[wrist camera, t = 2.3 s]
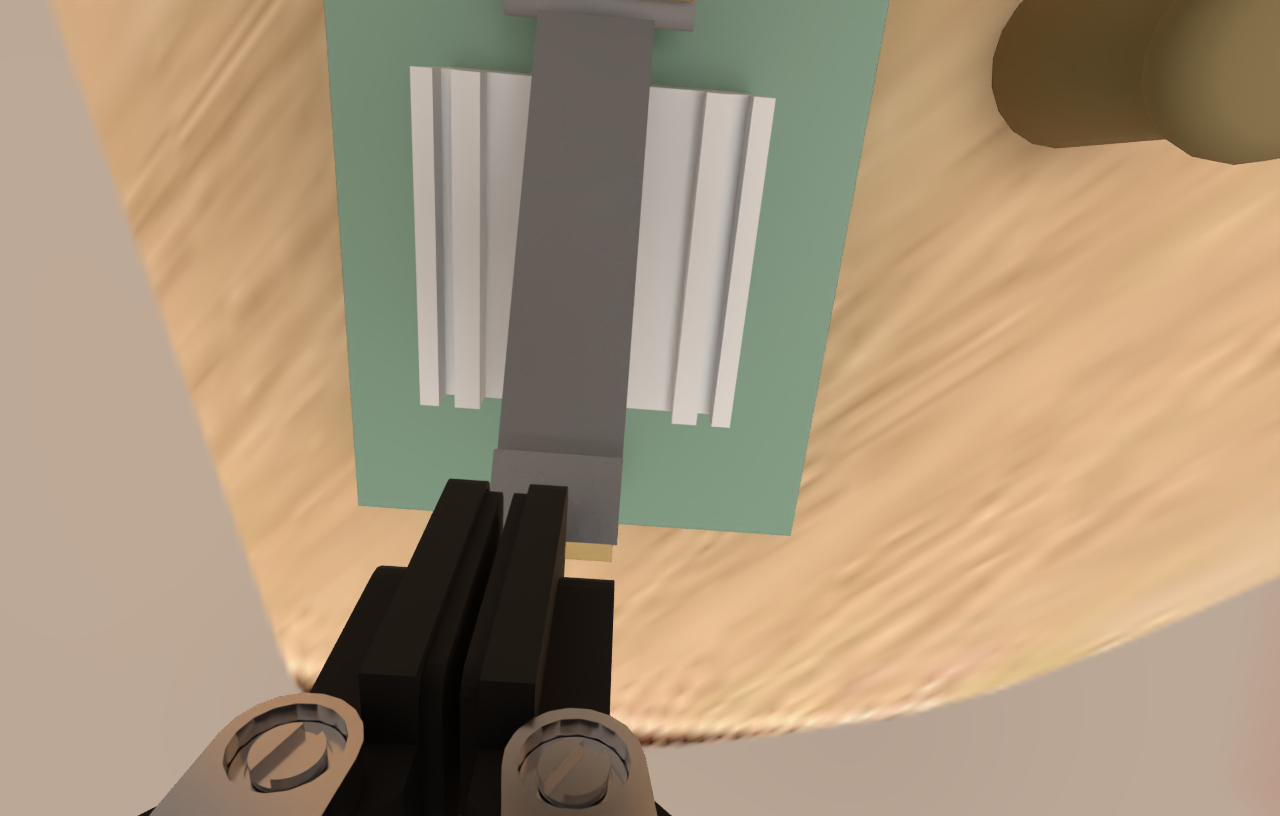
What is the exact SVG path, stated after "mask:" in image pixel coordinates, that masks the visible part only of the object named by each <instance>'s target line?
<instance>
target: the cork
mask: <svg viewBox="0 0 1280 816" xmlns="http://www.w3.org/2000/svg"><path fill="white" fill-rule="evenodd" d="M992 88H993V92H994V96H995V99H996V103H997V106H998V110H999V112H1000V114H1001V115H1002V116H1003V118H1004V119H1005V121H1006V122H1007V123H1008V125H1009V126H1010V128H1011V129H1012V130H1013V131H1014V132H1016V133H1017V134H1019V135H1020V136H1022V137H1023V138H1025V139H1026V140H1028V141H1030V142H1031V143H1033V144H1038V145H1043V146H1048V147H1052V148H1065V147H1077V146H1089V145H1102V144H1114V143H1126V142H1138V141H1150V140H1162V139H1166V140H1168V141H1169V142H1171V143H1172V144H1174V145H1175V146H1177V147H1178V148H1180V149H1181V150H1183V151H1184V152H1186V153H1187V154H1189V155H1190V156H1192V157H1197V158H1202V159H1207V160H1212V161H1217V162H1222V163H1227V164H1232V165H1236V164H1244V163H1252V162H1259V161H1267V160H1272V159H1278V158H1280V0H1024V1H1023V2H1022V3H1021V4H1020V5H1019V6H1018V8H1017V9H1016V11H1015V12H1014V14H1013V15H1012V17H1011V18H1010V20H1009V21H1008V23H1007V24H1006V26H1005V27H1004V29H1003V31H1002V34H1001V37H1000V40H999V43H998V46H997V49H996V52H995V55H994V58H993V75H992Z"/></svg>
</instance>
